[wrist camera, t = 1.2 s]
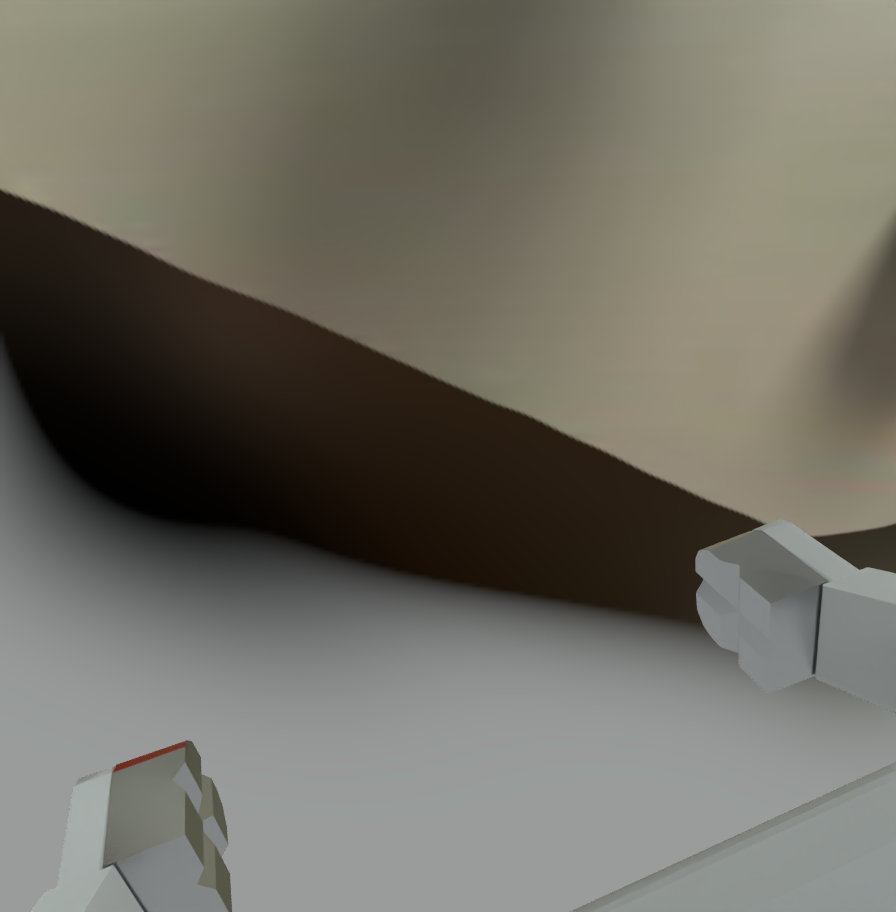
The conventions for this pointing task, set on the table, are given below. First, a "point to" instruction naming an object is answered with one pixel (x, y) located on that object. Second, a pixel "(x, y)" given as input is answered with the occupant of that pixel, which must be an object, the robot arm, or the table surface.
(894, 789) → the robot arm
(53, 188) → the table surface
